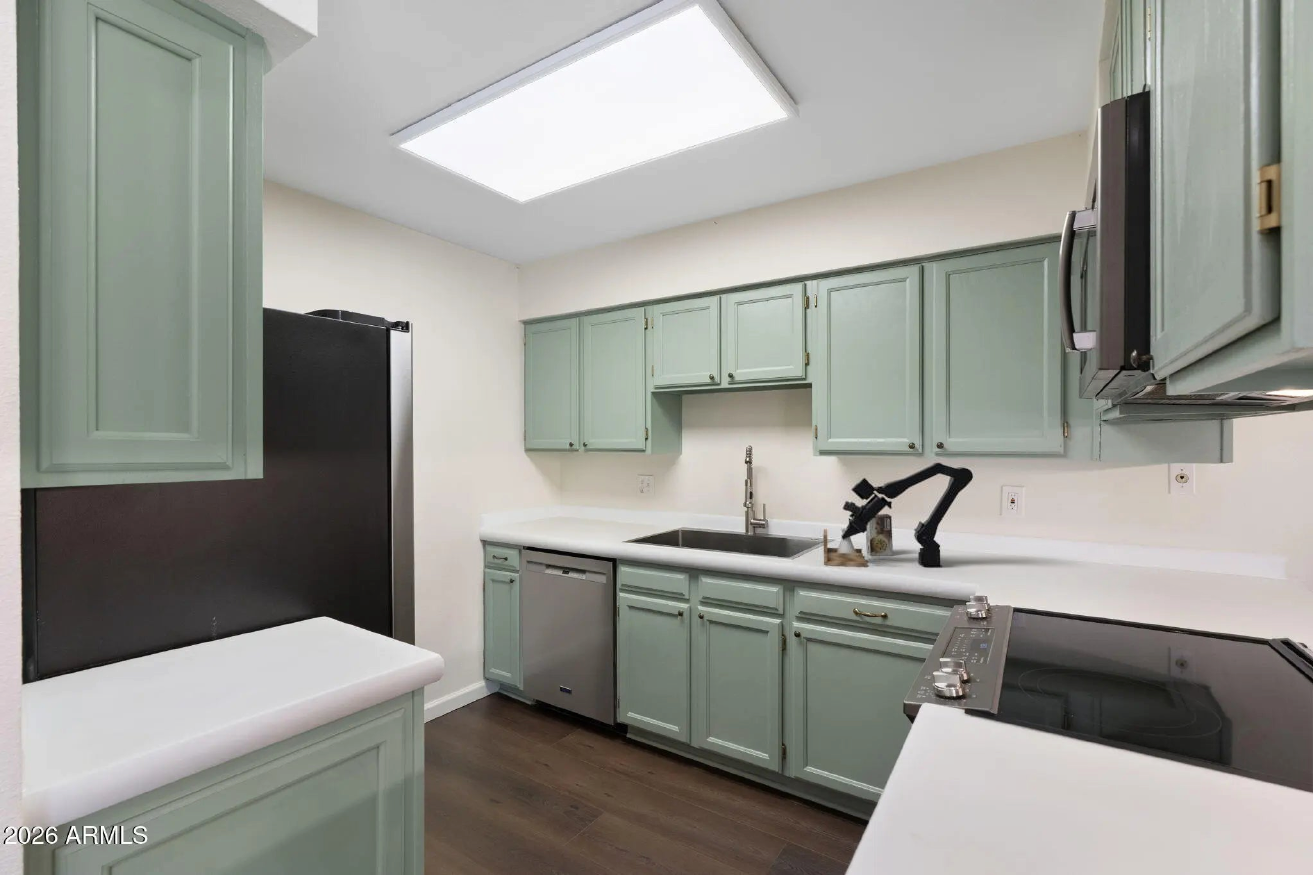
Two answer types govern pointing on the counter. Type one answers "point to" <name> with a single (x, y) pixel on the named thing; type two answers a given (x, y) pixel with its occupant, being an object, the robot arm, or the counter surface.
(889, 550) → the coffee box
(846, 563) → the spice stand
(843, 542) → the flask
